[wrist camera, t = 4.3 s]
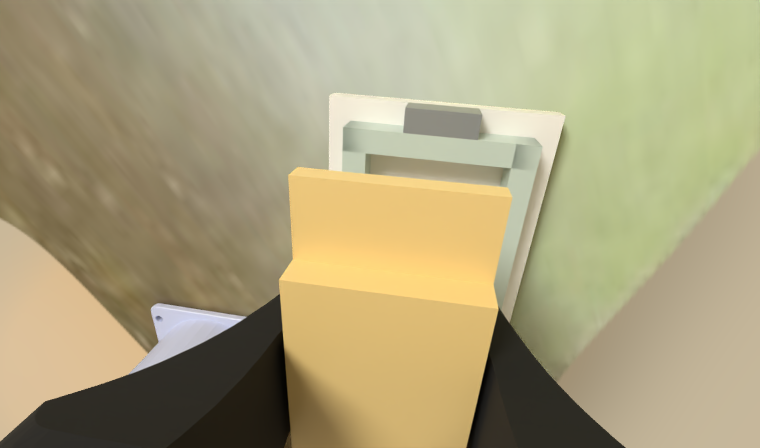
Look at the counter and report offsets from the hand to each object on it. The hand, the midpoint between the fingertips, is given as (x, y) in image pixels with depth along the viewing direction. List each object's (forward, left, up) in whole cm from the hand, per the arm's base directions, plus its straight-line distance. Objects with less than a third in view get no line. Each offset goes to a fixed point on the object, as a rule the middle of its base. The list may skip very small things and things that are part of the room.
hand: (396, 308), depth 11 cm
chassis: (-1, -1, -9) cm, 9 cm away
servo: (0, 0, -1) cm, 1 cm away
